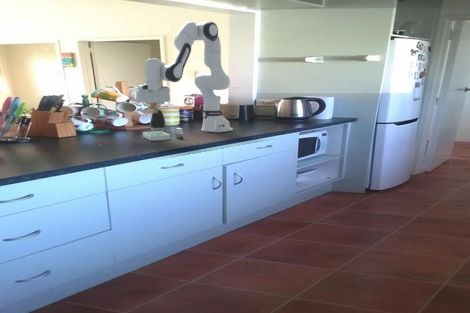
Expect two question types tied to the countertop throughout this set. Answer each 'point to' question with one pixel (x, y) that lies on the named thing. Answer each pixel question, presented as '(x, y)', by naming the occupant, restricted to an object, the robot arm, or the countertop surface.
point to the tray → (156, 135)
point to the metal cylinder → (179, 133)
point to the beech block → (153, 107)
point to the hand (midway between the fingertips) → (153, 109)
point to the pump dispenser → (157, 121)
